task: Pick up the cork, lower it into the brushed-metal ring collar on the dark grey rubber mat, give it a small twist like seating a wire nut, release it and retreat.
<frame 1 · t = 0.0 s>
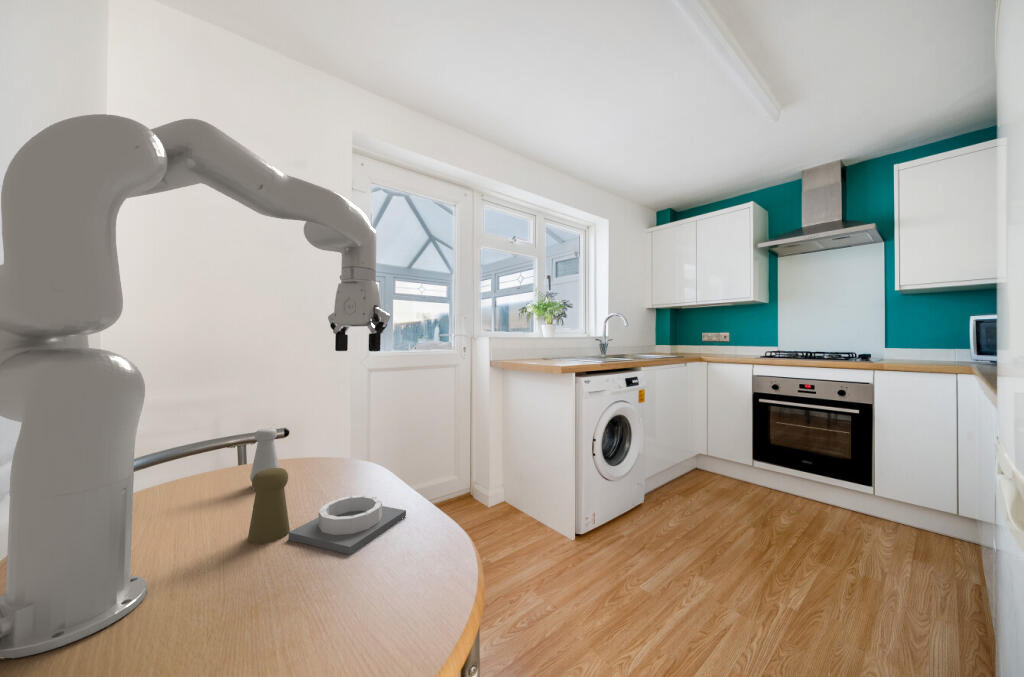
hand: (357, 351, 87), 31 cm above the table, fingers open, 9 cm apart
cork: (269, 536, 63), on the table
salt shaker: (265, 486, 86), on the table
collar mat: (351, 527, 66), on the table
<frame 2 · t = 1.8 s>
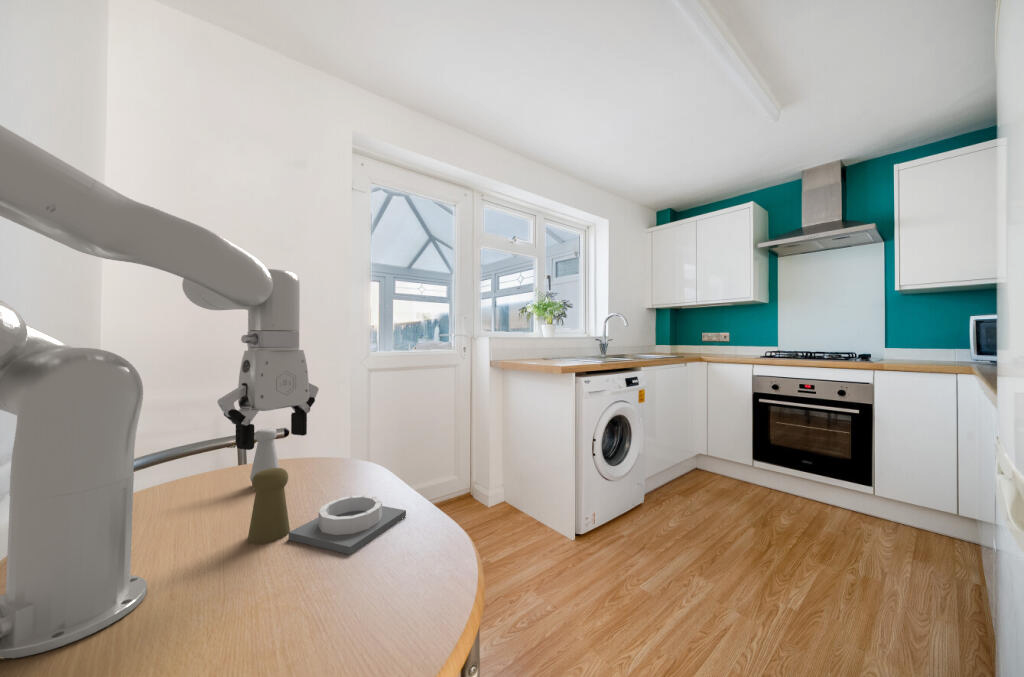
hand: (274, 441, 64), 16 cm above the table, fingers open, 9 cm apart
nothing on the table moved.
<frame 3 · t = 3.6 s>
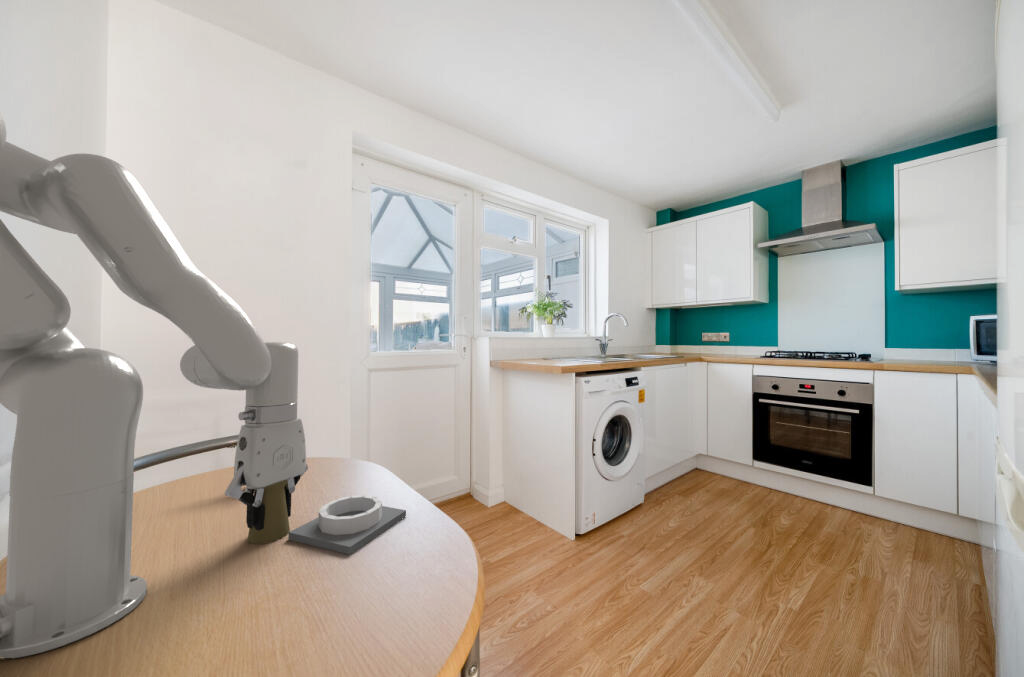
hand: (269, 520, 63), 2 cm above the table, fingers closed on cork, 4 cm apart
cork: (269, 536, 63), on the table, touching gripper
everything else where it was.
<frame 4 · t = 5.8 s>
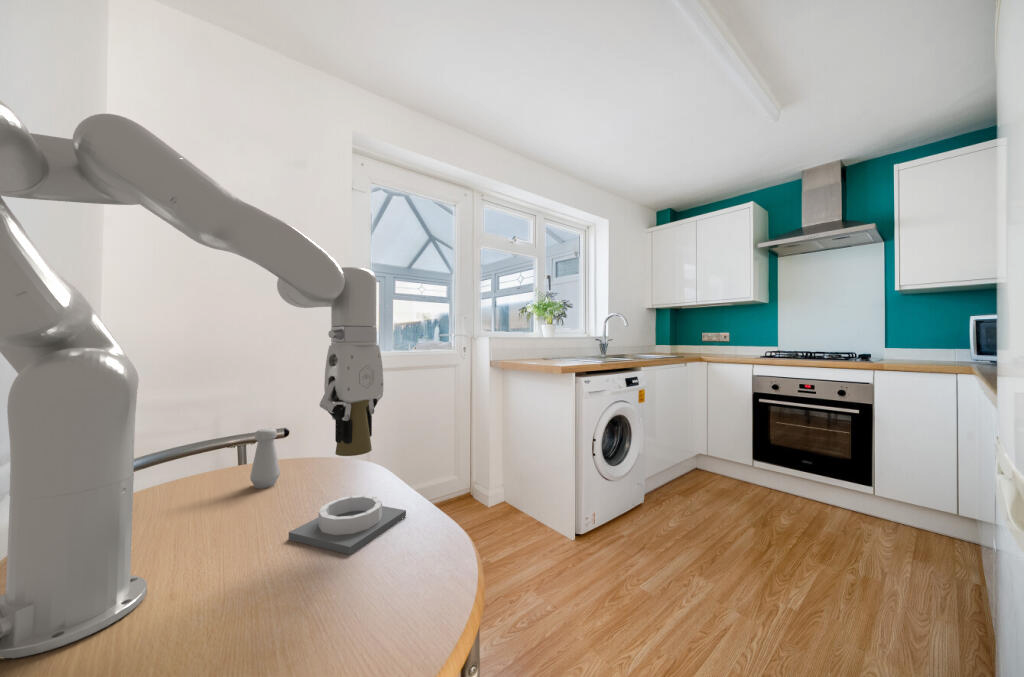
hand: (354, 438, 67), 16 cm above the table, fingers closed on cork, 4 cm apart
cork: (353, 452, 67), point 13 cm above the table, touching gripper
everything else where it was.
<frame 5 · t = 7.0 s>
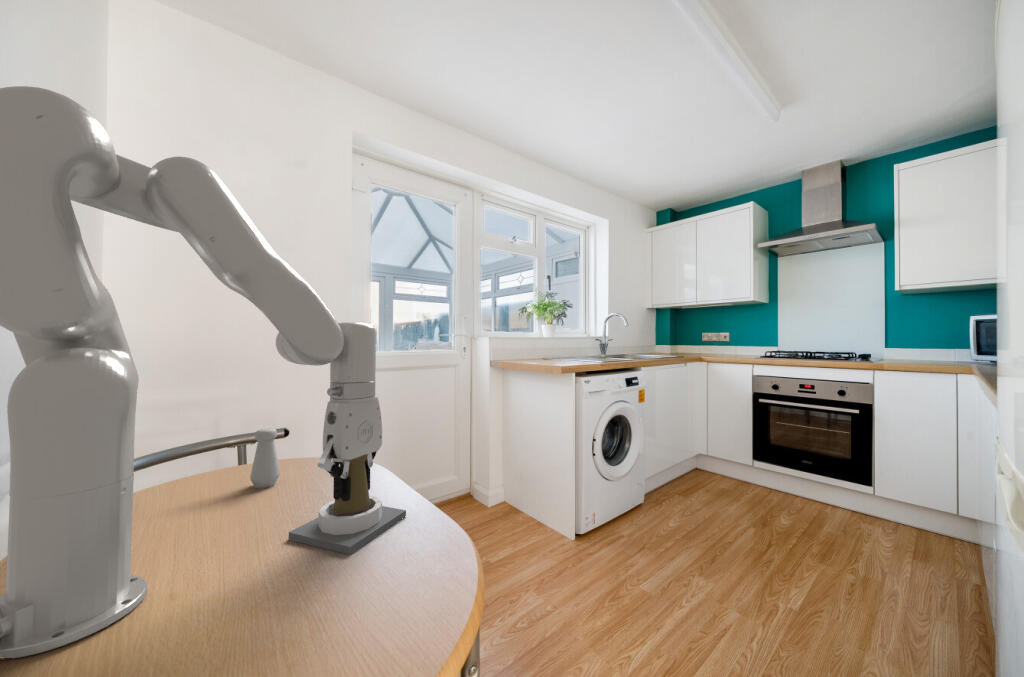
hand: (352, 493, 66), 6 cm above the table, fingers closed on cork, 4 cm apart
cork: (352, 507, 66), point 3 cm above the table, touching gripper
everything else where it was.
when the fingers open (5 cm above the table, at t = 7.9 s): cork drops 1 cm, resting on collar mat.
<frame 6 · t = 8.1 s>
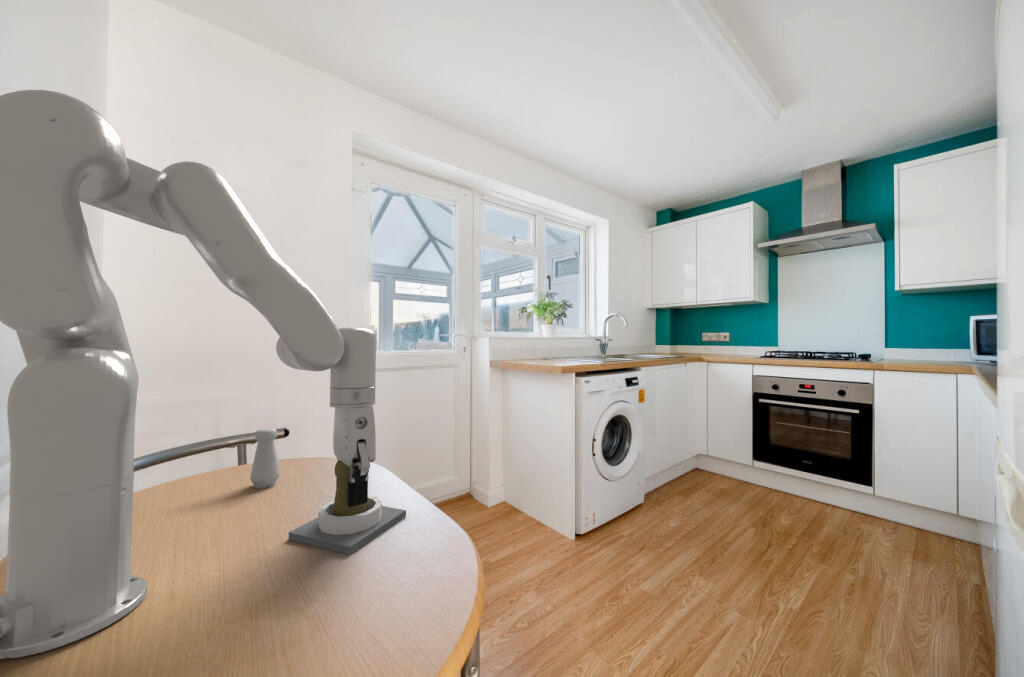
hand: (351, 497, 66), 5 cm above the table, fingers open, 6 cm apart
cork: (349, 521, 66), point 1 cm above the table, touching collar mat
everything else where it was.
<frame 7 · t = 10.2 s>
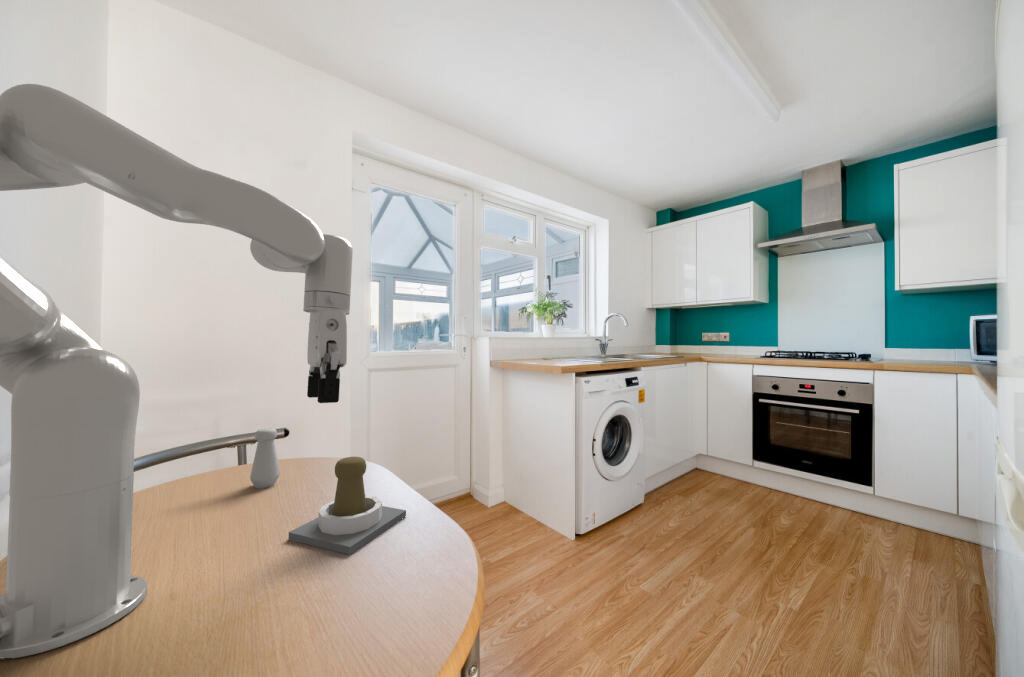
hand: (322, 399, 67), 23 cm above the table, fingers open, 9 cm apart
nothing on the table moved.
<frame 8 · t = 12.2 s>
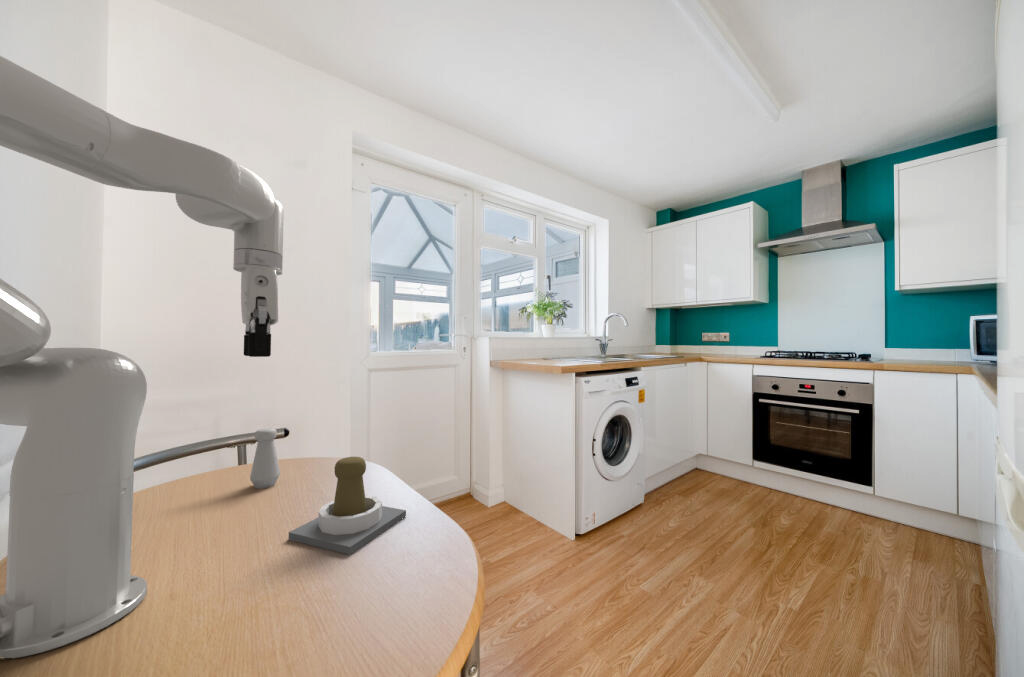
hand: (256, 356, 69), 30 cm above the table, fingers open, 9 cm apart
nothing on the table moved.
at the end: cork 0.3 cm from the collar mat (horizontally); cork tilted 0°; cork point 1.0 cm above the table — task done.
